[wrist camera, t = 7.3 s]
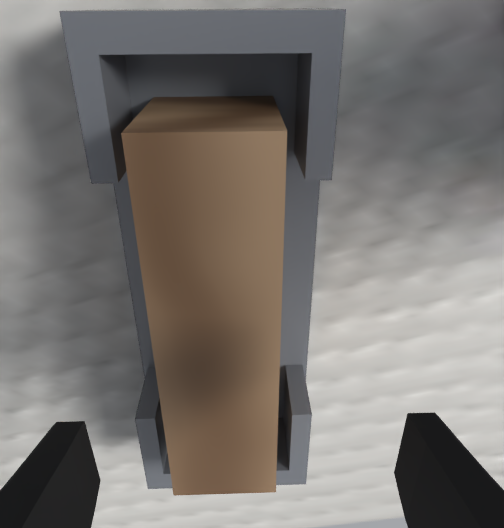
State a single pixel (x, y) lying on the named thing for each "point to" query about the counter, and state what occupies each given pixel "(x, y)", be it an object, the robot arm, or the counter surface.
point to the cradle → (217, 84)
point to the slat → (213, 281)
